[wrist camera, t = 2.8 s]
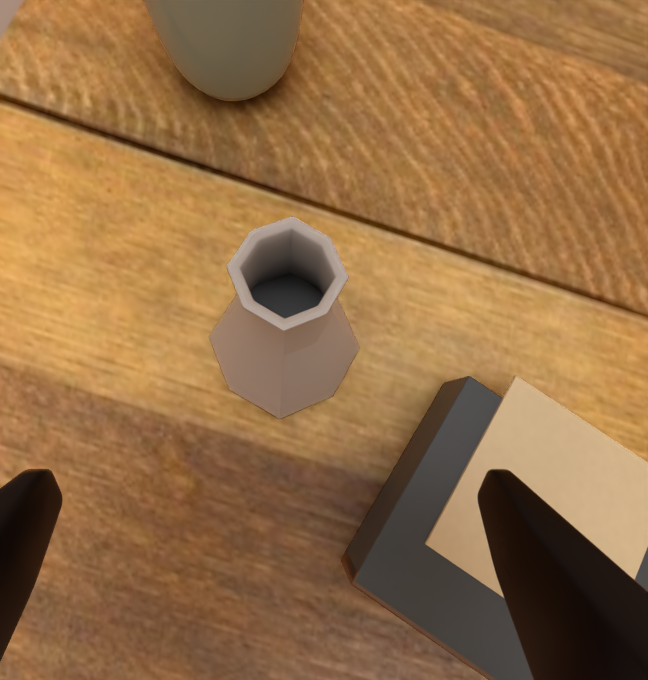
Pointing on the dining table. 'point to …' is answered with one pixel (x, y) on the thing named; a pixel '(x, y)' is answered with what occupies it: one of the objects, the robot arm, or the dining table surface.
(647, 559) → the grey and beige box
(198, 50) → the cup
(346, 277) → the octagonal bud vase
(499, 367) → the dining table surface
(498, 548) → the robot arm
